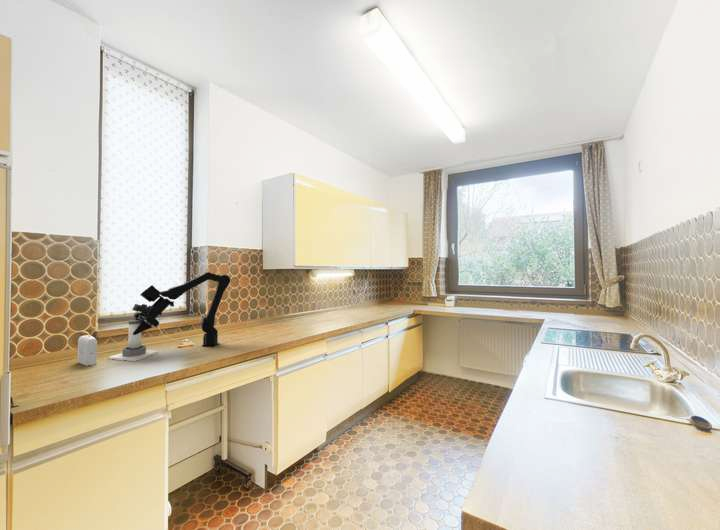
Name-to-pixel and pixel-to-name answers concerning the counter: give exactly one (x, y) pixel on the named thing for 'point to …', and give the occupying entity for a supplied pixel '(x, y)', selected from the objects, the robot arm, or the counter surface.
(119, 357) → the collar
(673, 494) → the counter surface
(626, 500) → the counter surface
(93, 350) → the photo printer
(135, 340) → the canister
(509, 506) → the counter surface
